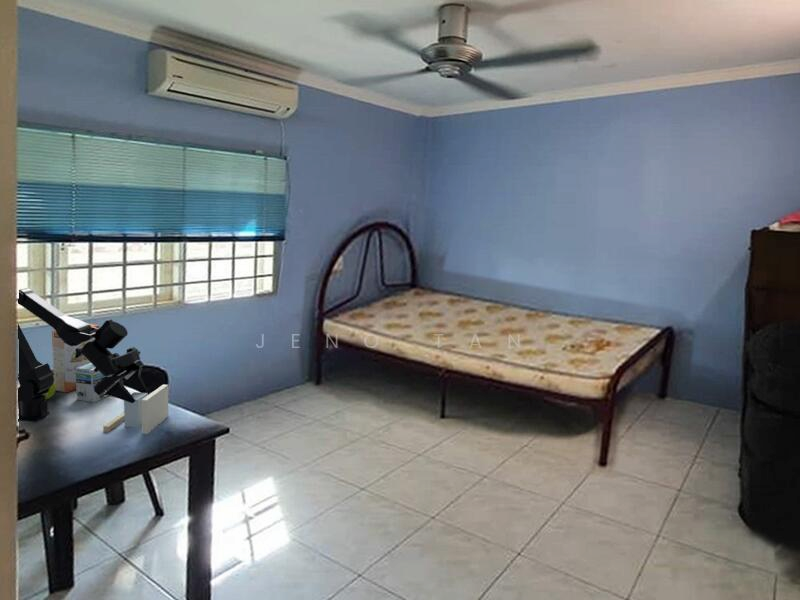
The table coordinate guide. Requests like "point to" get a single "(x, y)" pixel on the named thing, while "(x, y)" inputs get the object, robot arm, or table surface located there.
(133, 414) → the pale grey square box
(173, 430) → the table surface
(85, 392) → the light bulb box
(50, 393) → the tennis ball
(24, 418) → the robot arm
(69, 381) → the cracker box
